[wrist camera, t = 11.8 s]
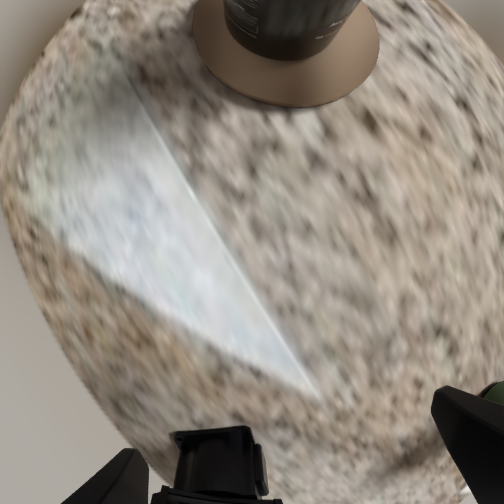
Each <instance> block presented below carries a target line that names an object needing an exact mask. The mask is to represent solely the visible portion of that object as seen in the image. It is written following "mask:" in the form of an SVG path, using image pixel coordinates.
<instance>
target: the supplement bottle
mask: <svg viewBox="0 0 504 504" xmlns="http://www.w3.org/2000/svg"><path fill="white" fill-rule="evenodd" d="M360 1H361V0H223V7H224V17H225V23H226V26H227V29H228V31H229V33H230V34H231V36H232V37H233V38H234V39H235V40H236V42H238V43H239V44H240V45H241V46H242V47H244V48H245V49H247V50H248V51H250V52H252V53H254V54H256V55H258V56H261V57H264V58H268V59H272V60H278V61H297V60H303V59H307V58H310V57H312V56H315V55H317V54H319V53H320V52H322V51H323V50H324V49H325V48H326V47H327V46H328V45H329V44H330V43H331V42H332V40H333V39H334V38H335V36H336V35H337V34H338V32H339V31H340V29H341V28H342V26H343V25H344V24H345V22H346V21H347V19H348V18H349V17H350V15H351V14H352V12H353V11H354V10H355V8H356V7H357V5H358V4H359V3H360Z"/></svg>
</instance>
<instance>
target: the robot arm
mask: <svg viewBox="0 0 504 504" xmlns="http://www.w3.org/2000/svg"><path fill="white" fill-rule="evenodd" d="M431 414H432V417H433V419H434V421H435V423H436V425H437V427H438V430H439V432H440V434H441V436H442V439H443V441H444V443H445V446H446V448H447V450H448V452H449V453H450V455H451V457H452V459H453V460H454V462H455V464H456V465H457V467H458V469H459V471H460V472H461V474H462V476H463V478H464V479H465V481H466V483H467V485H468V486H469V488H470V490H471V492H472V494H473V495H474V497H475V499H476V501H477V503H478V504H504V405H502V404H499V403H496V402H493V401H490V400H487V399H484V398H481V397H478V396H476V395H473V394H470V393H467V392H464V391H462V390H459V389H456V388H453V387H451V386H443V387H441V388H439V389H437V390H436V391H435V392H434V396H433V401H432V405H431ZM174 441H175V442H176V444H177V446H178V448H179V450H180V453H179V459H178V464H177V470H176V475H175V481H174V487H173V488H170V487H169V486H164V485H162V488H161V492H158V493H154V494H153V495H152V499H151V504H283V503H282V500H281V499H273V500H263V499H262V496H267V495H268V493H269V490H268V480H267V471H266V462H265V458H264V454H263V451H262V447H261V445H260V444H256V443H255V440H254V437H253V434H252V430H251V428H250V427H247V426H242V427H235V428H226V429H217V430H206V431H193V432H178V433H175V435H174ZM148 482H149V467H148V464H147V462H146V461H145V460H144V458H143V457H142V455H141V454H140V452H139V451H138V450H137V449H135V448H124V449H123V450H121V451H120V452H119V453H118V454H117V455H116V456H115V457H114V458H113V459H112V460H110V461H109V462H108V463H107V464H106V465H105V466H104V467H103V468H102V469H101V470H99V471H98V472H97V473H96V474H95V475H94V476H93V477H91V478H90V479H89V480H88V481H87V482H86V483H85V484H83V485H82V486H81V487H80V488H79V489H78V490H76V491H75V492H74V493H73V494H72V495H71V496H69V497H68V498H67V499H66V500H65V501H63V502H62V503H61V504H148Z"/></svg>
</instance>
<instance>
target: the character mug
mask: <svg viewBox="0 0 504 504" xmlns="http://www.w3.org/2000/svg"><path fill="white" fill-rule="evenodd" d="M484 399H487V400H490V401H493V402H496V403H499V404H502V405H504V381H502V382H499V383H497V384H496V385H495V386H493V387H492V388H491V389H490V390H489V391H488V393H487V394H486V395H485V396H484Z"/></svg>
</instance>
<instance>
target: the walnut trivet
mask: <svg viewBox="0 0 504 504" xmlns="http://www.w3.org/2000/svg"><path fill="white" fill-rule="evenodd" d="M192 26H193V35H194V39H195V43H196V46H197V49H198V51H199V54H200V56H201V58H202V60H203V61H204V63H205V64H206V66H207V67H208V69H209V70H210V71H211V72H212V73H213V74H214V75H215V76H216V77H217V78H218V79H219V80H220V81H221V82H223V83H224V84H225V85H227V86H228V87H230V88H231V89H233V90H234V91H236V92H238V93H240V94H242V95H244V96H246V97H248V98H251V99H253V100H256V101H259V102H263V103H266V104H270V105H275V106H281V107H293V108H301V107H313V106H319V105H324V104H327V103H331V102H333V101H336V100H338V99H340V98H342V97H344V96H346V95H347V94H349V93H351V92H352V91H353V90H354V89H356V88H357V87H358V86H359V85H360V84H362V83H363V82H364V81H365V80H366V78H367V77H368V76H369V75H370V74H371V72H372V70H373V68H374V67H375V64H376V61H377V59H378V54H379V35H378V30H377V27H376V24H375V21H374V19H373V17H372V15H371V13H370V11H369V10H368V8H367V7H366V5H365V4H364V3H363V1H362V0H361V1H360V3H359V4H358V5H357V7H356V8H355V10H354V11H353V12H352V14H351V15H350V17H349V18H348V19H347V21H346V22H345V24H344V25H343V26H342V28H341V29H340V31H339V32H338V34H337V35H336V36H335V38H334V39H333V40H332V42H331V43H330V44H329V45H328V46H327V47H326V48H325V49H324V50H323V51H322V52H320V53H319V54H317V55H315V56H312V57H310V58H307V59H303V60H297V61H278V60H272V59H268V58H264V57H261V56H258V55H256V54H254V53H252V52H250V51H248V50H247V49H245V48H244V47H242V46H241V45H240V44H239V43H238V42H236V40H235V39H234V38H233V37H232V36H231V34H230V33H229V31H228V29H227V26H226V23H225V17H224V7H223V0H199V1H198V3H197V5H196V8H195V11H194V14H193V23H192Z"/></svg>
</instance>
